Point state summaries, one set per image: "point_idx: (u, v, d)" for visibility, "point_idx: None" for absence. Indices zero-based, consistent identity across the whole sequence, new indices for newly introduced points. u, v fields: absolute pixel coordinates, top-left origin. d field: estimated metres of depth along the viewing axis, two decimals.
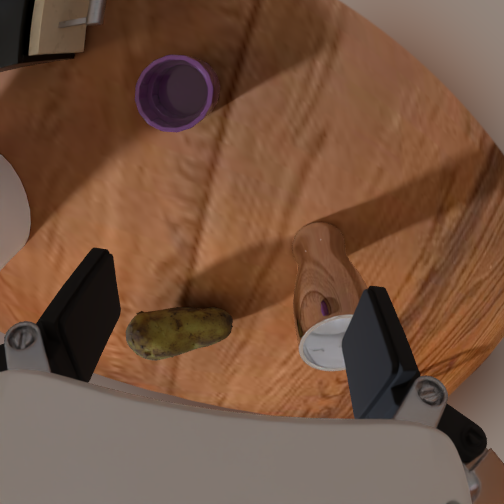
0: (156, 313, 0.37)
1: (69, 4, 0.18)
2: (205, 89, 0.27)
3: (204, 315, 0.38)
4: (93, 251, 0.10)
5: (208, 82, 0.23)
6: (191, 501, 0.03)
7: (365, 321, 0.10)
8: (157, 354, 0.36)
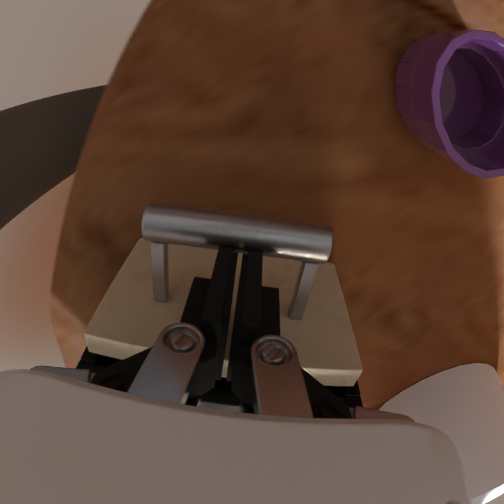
0: None
1: None
2: (452, 59, 0.12)
3: None
4: (222, 249, 0.11)
5: (485, 36, 0.08)
6: (191, 501, 0.03)
7: None
8: None
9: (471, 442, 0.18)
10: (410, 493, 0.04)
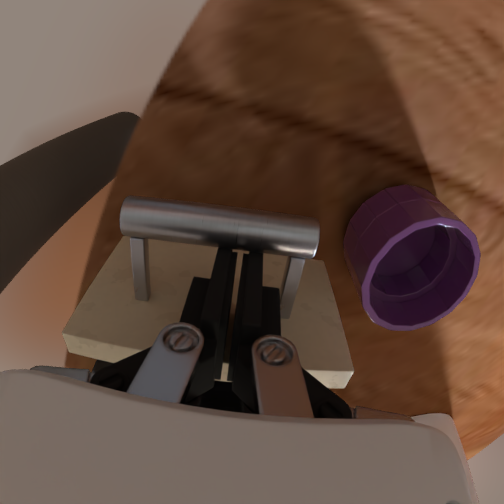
0: None
1: None
2: None
3: None
4: (221, 249, 0.11)
5: (429, 224, 0.12)
6: (191, 501, 0.03)
7: (239, 283, 0.11)
8: None
9: None
10: (410, 493, 0.04)
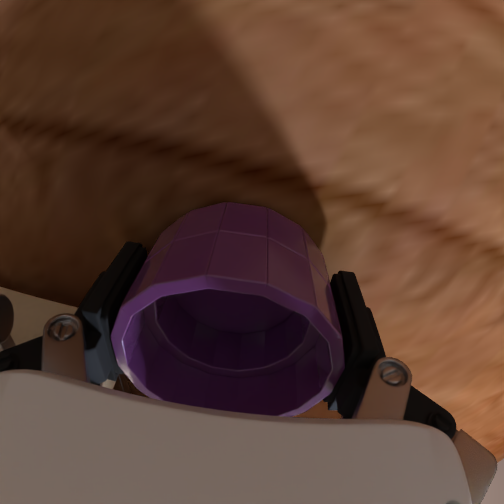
0: None
1: None
2: None
3: None
4: (128, 245, 0.11)
5: (184, 288, 0.07)
6: (191, 501, 0.03)
7: None
8: None
9: None
10: (410, 493, 0.04)
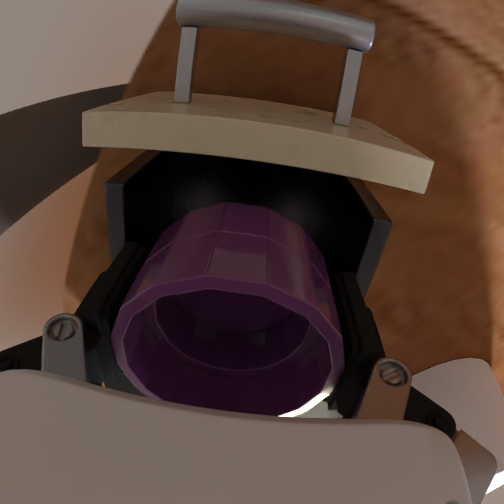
0: None
1: (280, 110, 0.12)
2: None
3: None
4: (128, 245, 0.11)
5: (184, 288, 0.07)
6: (191, 501, 0.03)
7: None
8: None
9: None
10: (410, 493, 0.04)
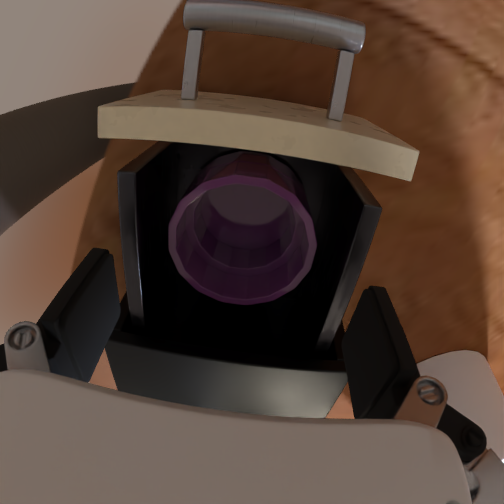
0: None
1: (279, 107, 0.13)
2: None
3: None
4: (93, 251, 0.10)
5: (221, 183, 0.13)
6: (191, 501, 0.03)
7: (365, 321, 0.10)
8: None
9: None
10: (410, 493, 0.04)
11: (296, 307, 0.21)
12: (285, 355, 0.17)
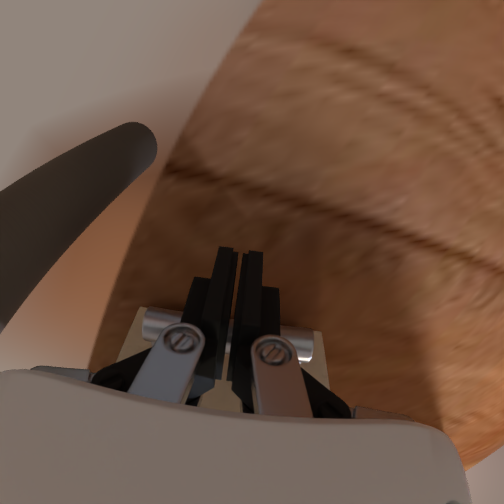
0: None
1: None
2: None
3: None
4: (222, 249, 0.11)
5: None
6: (191, 501, 0.03)
7: None
8: None
9: None
10: (410, 493, 0.04)
11: None
12: None
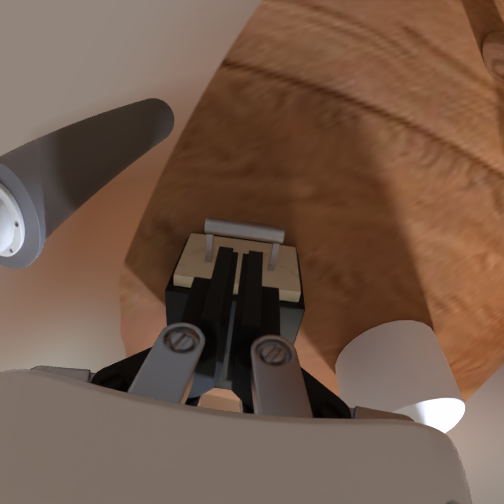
0: None
1: None
2: None
3: None
4: (222, 250, 0.11)
5: None
6: (191, 501, 0.03)
7: None
8: None
9: (401, 369, 0.35)
10: (410, 493, 0.04)
11: None
12: None
